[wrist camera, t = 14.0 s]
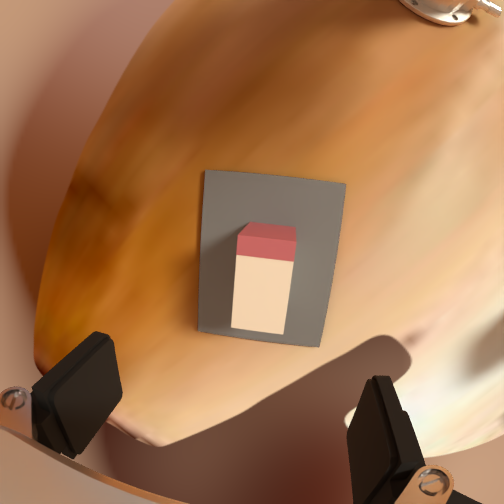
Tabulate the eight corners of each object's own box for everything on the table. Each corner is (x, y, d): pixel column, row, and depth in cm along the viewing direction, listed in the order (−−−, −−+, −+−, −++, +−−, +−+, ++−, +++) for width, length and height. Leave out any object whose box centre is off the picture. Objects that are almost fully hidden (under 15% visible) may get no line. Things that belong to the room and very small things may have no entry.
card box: (285, 302, 32) (283, 334, 25) (243, 297, 33) (230, 327, 26) (295, 227, 30) (296, 241, 23) (250, 221, 31) (237, 234, 24)
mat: (345, 183, 29) (346, 183, 29) (318, 344, 34) (319, 347, 33) (207, 169, 31) (205, 169, 30) (199, 328, 35) (197, 331, 34)
